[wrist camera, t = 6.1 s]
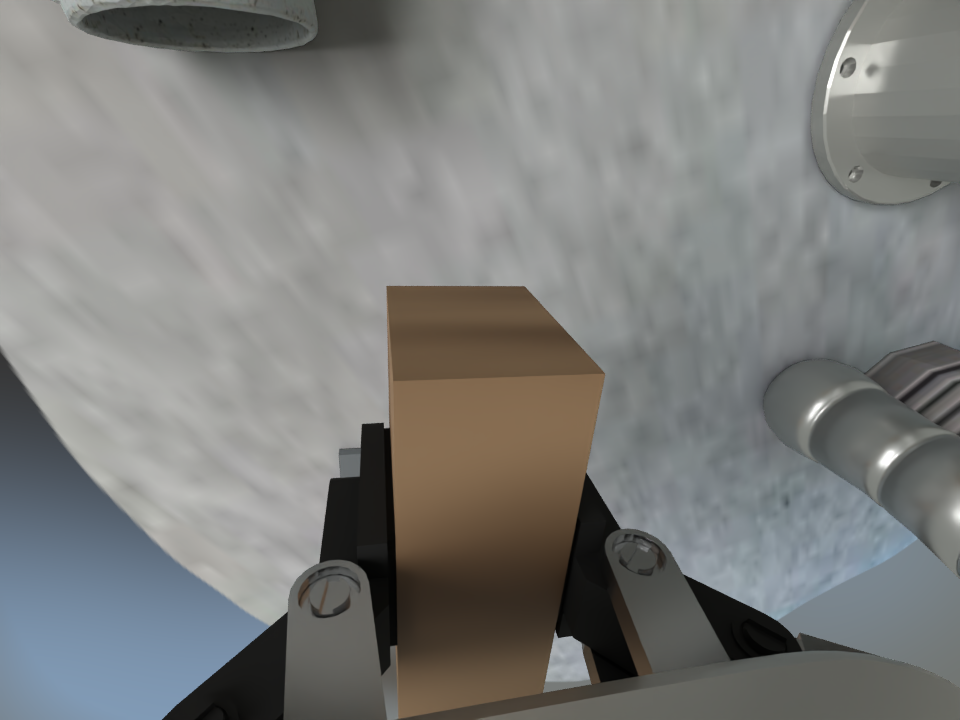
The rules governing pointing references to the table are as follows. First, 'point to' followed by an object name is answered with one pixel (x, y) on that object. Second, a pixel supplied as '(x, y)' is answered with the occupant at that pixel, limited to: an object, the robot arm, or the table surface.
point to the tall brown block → (481, 489)
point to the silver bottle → (873, 447)
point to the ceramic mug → (198, 23)
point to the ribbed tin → (924, 381)
